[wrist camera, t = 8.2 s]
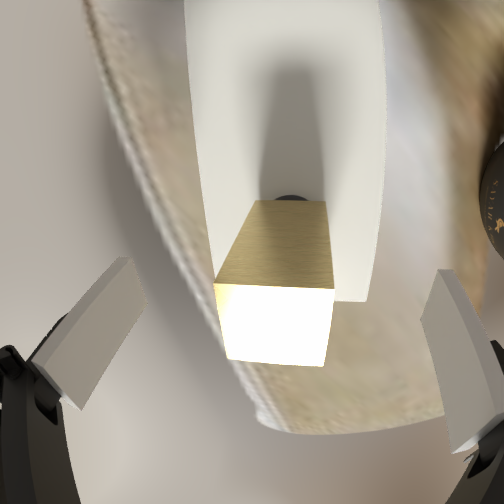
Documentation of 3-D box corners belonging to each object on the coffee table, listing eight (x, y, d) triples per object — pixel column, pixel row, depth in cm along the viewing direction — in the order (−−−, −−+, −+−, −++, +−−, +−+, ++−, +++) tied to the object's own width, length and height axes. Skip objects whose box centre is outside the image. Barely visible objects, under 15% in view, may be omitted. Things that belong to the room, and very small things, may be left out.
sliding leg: (256, 197, 17) (213, 283, 10) (325, 198, 16) (334, 289, 9) (260, 256, 19) (227, 358, 12) (322, 258, 18) (323, 365, 11)
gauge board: (190, -67, 9) (181, -76, 8) (353, -79, 7) (355, -89, 5) (223, 282, 23) (218, 294, 22) (363, 289, 21) (366, 302, 19)
